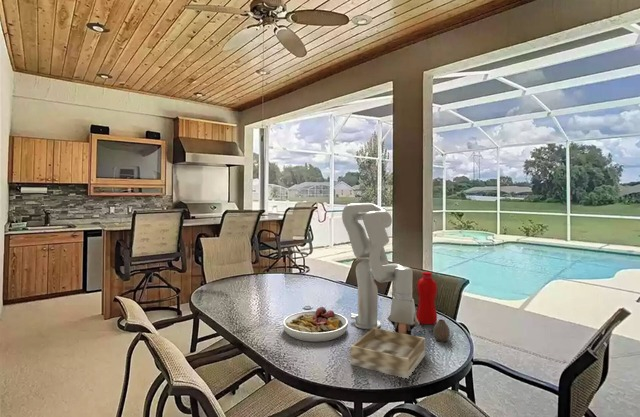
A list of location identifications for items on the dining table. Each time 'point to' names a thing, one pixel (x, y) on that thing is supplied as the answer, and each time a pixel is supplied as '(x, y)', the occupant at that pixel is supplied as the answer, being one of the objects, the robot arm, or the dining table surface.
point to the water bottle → (426, 299)
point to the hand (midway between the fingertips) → (402, 337)
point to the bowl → (315, 325)
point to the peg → (402, 328)
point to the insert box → (388, 352)
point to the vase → (441, 331)
